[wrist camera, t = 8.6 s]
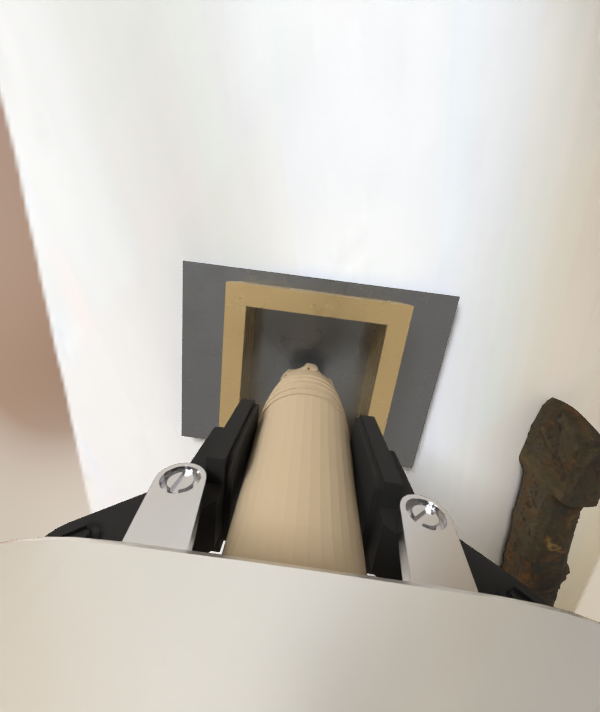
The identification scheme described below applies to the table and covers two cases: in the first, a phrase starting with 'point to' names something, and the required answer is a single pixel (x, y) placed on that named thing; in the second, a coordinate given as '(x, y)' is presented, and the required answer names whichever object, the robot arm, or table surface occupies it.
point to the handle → (300, 481)
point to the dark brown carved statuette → (552, 496)
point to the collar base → (310, 346)
